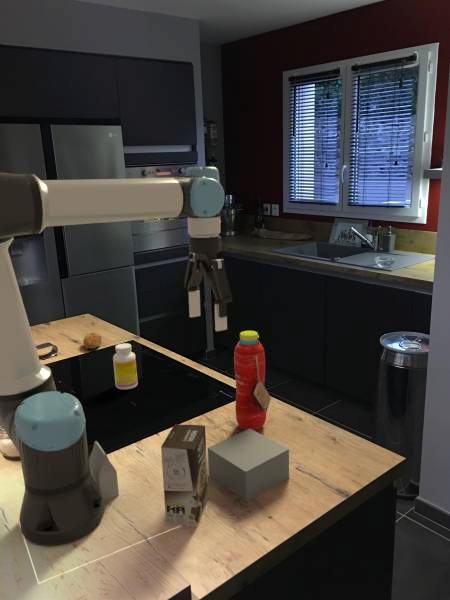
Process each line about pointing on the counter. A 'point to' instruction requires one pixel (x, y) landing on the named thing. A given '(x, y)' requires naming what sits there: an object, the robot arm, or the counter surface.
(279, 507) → the counter surface
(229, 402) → the counter surface
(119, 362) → the supplement bottle
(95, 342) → the pastry
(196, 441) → the coffee box
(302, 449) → the counter surface
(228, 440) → the riser block
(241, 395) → the water bottle
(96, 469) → the white carton
